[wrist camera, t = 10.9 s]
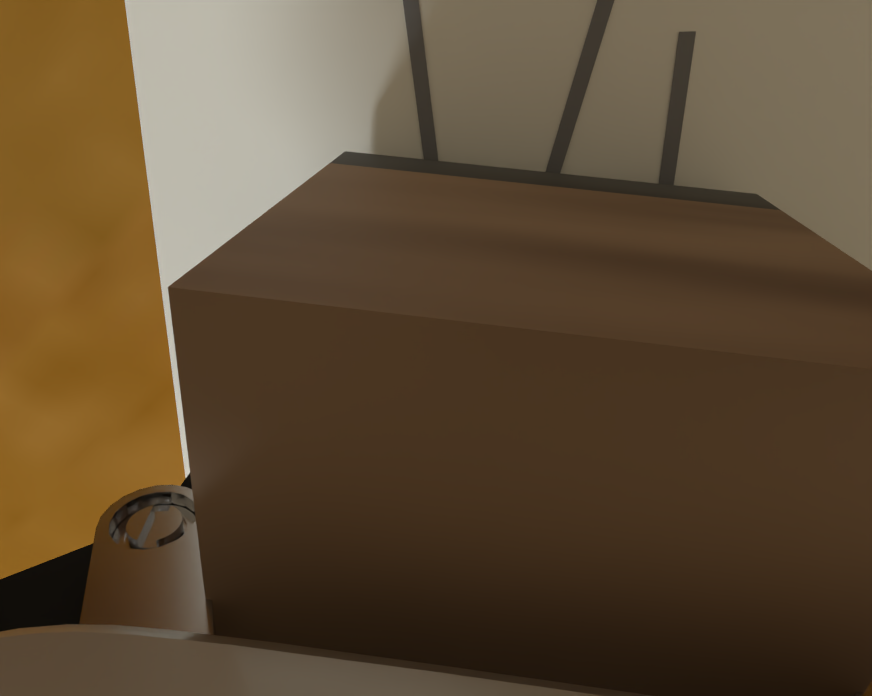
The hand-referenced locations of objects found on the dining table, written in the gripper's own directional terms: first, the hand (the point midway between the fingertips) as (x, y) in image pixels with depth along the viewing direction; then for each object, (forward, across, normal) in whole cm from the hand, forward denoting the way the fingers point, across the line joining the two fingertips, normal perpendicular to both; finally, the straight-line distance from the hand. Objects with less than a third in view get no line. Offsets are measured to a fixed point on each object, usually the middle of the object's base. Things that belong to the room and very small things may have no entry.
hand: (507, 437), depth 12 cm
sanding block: (+1, 0, 0) cm, 1 cm away
